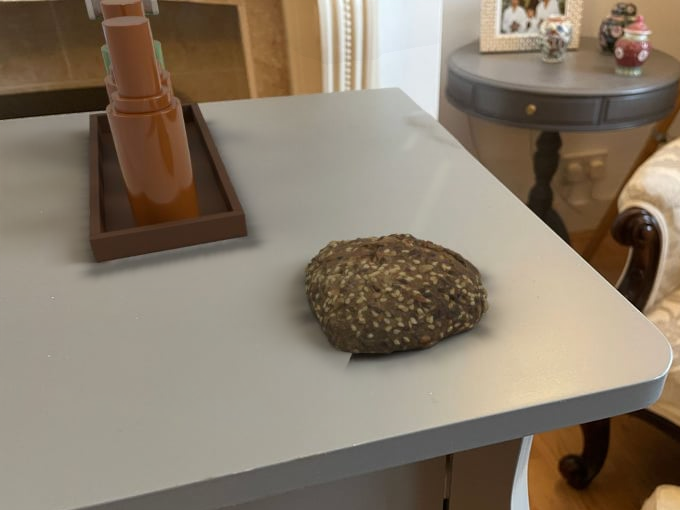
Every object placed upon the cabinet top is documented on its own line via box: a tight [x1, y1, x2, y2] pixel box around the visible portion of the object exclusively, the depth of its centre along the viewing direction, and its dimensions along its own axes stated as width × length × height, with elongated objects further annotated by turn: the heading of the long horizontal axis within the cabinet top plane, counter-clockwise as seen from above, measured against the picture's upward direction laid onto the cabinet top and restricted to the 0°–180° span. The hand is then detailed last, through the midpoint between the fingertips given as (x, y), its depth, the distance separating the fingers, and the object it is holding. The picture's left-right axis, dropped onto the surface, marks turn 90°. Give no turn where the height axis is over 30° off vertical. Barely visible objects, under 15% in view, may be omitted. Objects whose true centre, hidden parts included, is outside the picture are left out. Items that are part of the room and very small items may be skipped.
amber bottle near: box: [101, 16, 201, 228], centre depth 51 cm, size 5×5×16 cm
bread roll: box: [304, 233, 490, 355], centre depth 45 cm, size 13×12×5 cm
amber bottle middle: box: [100, 0, 175, 104], centre depth 57 cm, size 5×5×16 cm
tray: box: [88, 101, 248, 264], centre depth 62 cm, size 30×12×3 cm, turn 21°
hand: (124, 16), depth 60 cm, fingers closed on green bottle, 3 cm apart
